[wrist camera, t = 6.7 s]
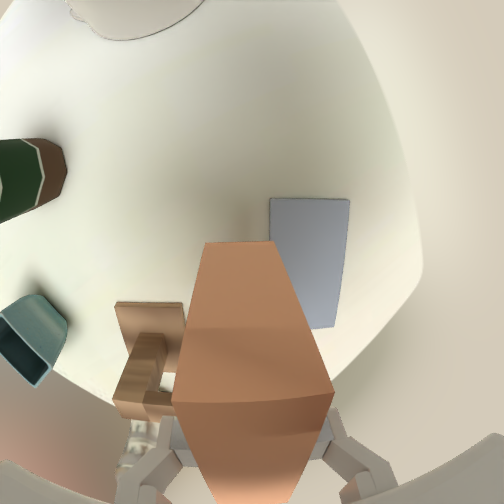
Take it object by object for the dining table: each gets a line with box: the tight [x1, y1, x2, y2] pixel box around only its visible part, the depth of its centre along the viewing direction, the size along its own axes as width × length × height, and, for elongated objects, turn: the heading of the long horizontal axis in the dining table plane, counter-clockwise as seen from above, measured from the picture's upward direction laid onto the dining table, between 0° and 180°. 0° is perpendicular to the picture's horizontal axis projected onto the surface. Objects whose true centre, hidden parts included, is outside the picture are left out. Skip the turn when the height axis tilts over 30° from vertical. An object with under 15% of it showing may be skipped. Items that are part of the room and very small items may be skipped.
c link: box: [171, 241, 335, 504], centre depth 13 cm, size 12×4×11 cm, turn 0°
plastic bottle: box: [115, 390, 166, 494], centre depth 25 cm, size 6×7×20 cm
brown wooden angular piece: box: [112, 302, 185, 423], centre depth 25 cm, size 10×18×12 cm, turn 90°
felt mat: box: [269, 199, 350, 329], centre depth 28 cm, size 15×8×1 cm, turn 0°
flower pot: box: [0, 295, 67, 388], centre depth 25 cm, size 9×9×9 cm
